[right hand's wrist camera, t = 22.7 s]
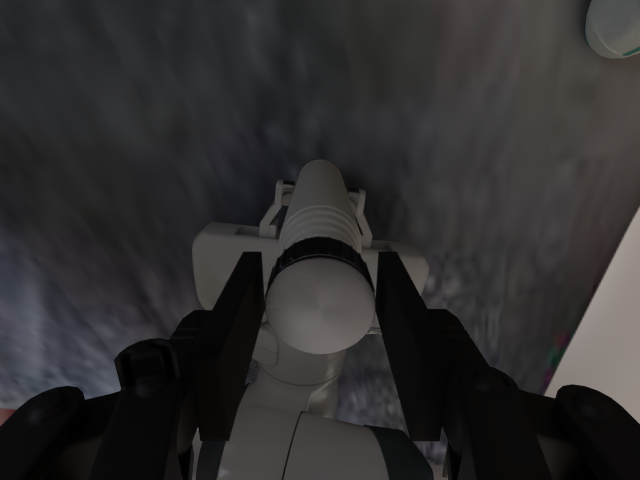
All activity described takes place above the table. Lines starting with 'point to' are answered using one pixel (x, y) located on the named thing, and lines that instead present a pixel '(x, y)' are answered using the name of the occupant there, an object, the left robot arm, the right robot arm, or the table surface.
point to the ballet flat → (613, 28)
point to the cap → (320, 296)
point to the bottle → (320, 208)
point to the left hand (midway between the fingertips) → (320, 185)
